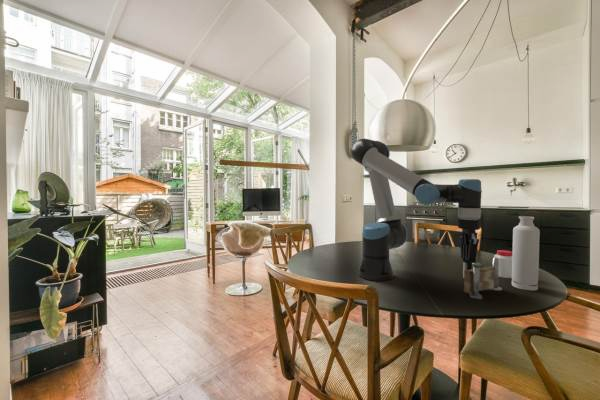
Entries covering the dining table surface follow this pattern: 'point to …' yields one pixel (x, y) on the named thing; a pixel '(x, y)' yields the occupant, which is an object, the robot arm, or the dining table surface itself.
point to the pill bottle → (504, 263)
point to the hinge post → (496, 274)
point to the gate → (484, 279)
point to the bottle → (525, 254)
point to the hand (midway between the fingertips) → (467, 278)
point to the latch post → (476, 281)
